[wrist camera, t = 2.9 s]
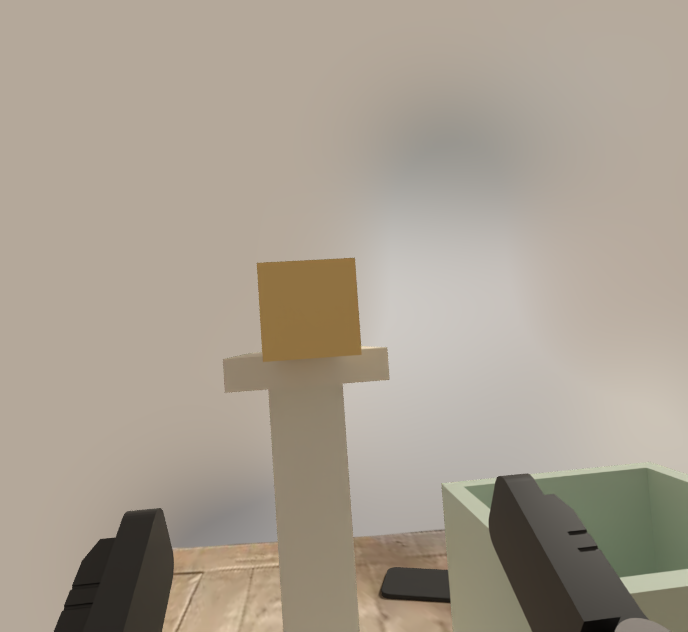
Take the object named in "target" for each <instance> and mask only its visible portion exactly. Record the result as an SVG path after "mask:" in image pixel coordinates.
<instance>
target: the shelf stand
mask: <svg viewBox="0 0 688 632" xmlns="http://www.w3.org/2000/svg"><path fill="white" fill-rule="evenodd" d="M361 352H362V355H352V356H338V357H325V358H311V359H297V360H284V361H270V362H263V355H262V352H256V353H249V354H244V355H240V356H235V357H231V358H227V359H223V368H224V385H225V393H228V392H240V391H252V390H253V391H254V390H266V389H268V391H269V407H270V422H271V439H272V455H273V472H274V486H275V504H276V520H277V536H278V553H279V569H280V585H281V602H282V618H283V632H360V630H359V615H358V601H357V586H356V572H355V557H354V543H353V529H352V515H351V500H350V485H349V473H348V472H349V471H348V456H347V444H346V443H347V442H346V428H345V413H344V398H343V384H342V383H355V382H367V381H380V380H389V367H388V352H387V347H366V346H361Z"/></svg>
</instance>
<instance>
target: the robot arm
mask: <svg viewBox="0 0 688 632" xmlns="http://www.w3.org/2000/svg"><path fill="white" fill-rule="evenodd" d="M489 533H490V538H491V541H492V544H493V547H494V549H495V551H496V553H497V555H498V558H499V560H500V562H501V564H502V566H503V569H504V571H505V573H506V575H507V577H508V580H509V582H510V584H511V586H512V588H513V591H514V593H515V595H516V597H517V599H518V602H519V604H520V606H521V608H522V610H523V613H524V615H525V617H526V619H527V621H528V624H529V626H530V628H531V630H532V632H671V631H670V630H668V629H667V628H665V627H664V626H662V625H660V624H658V623H656V622H653V621H650V620H649V619H648V618H647V617H646V616H645V614H644V613H643V612H642V610H641V609H640V607H639V606H638V604H637V603H636V602H635V600H634V599H633V597H632V596H631V594H630V593H629V591H628V590H627V588H626V587H625V585H624V584H623V582H622V581H621V579H620V578H619V576H618V575H617V573H616V572H615V570H614V569H613V568H612V566H611V565H610V563H609V562H608V560H607V559H606V557H605V556H604V554H603V553H602V551H601V550H599V549H598V545H597V544H596V542H595V541H594V539H593V538H592V536H591V535H590V534H589V533H587V529H586V528H585V526H584V525H583V523H582V522H581V520H580V519H579V517H578V516H577V514H576V513H575V511H574V510H573V509H572V508H571V507H569V506H568V505H567V504H566V503H565V502H563V501H562V500H561V499H560V498H559V497H557V496H556V495H555V494H547V495H544V494H543V492H542V491H541V489H540V488H539V486H538V484H537V483H536V481H535V480H534V478H533V477H532V476H531V475H530V474H518V475H508V476H499V477H497V479H496V481H495V486H494V492H493V497H492V503H491V509H490V514H489ZM173 569H174V558H173V550H172V546H171V543H170V538H169V534H168V530H167V525H166V522H165V517H164V513H163V510H162V509H161V508H157V509H147V510H137V511H128V512H126V513H125V514H124V516H123V518H122V521H121V524H120V527H119V530H118V532H117V536H116V538H107V539H100V540H99V541H98V543H97V544H96V545H95V546H94V547H93V548H92V550H91V551H90V552H89V553H88V554H87V556H86V557H85V558H84V559H83V560H82V562H81V565H80V568H79V570H78V572H77V575H76V577H75V580H74V582H73V585H72V590H70V592H69V595H68V597H67V600H66V602H65V605H64V611H62V612H61V615H60V617H59V620H58V622H57V625H56V628H55V630H54V632H162V628H163V623H164V618H165V614H166V609H167V604H168V599H169V594H170V589H171V585H172V579H173Z"/></svg>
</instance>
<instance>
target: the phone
mask: <svg viewBox="0 0 688 632" xmlns="http://www.w3.org/2000/svg"><path fill="white" fill-rule="evenodd" d="M381 591H382V596H383V597H385V598H390V599H406V600H422V601H439V602H451V600H450V587H449V574H448V570H437V569H419V568H401V567H394V568H390V569H389V570H388V571H387V574H386V577H385V580H384V583H383V586H382V589H381Z"/></svg>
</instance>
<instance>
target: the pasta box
mask: <svg viewBox="0 0 688 632" xmlns="http://www.w3.org/2000/svg"><path fill="white" fill-rule="evenodd" d="M257 274H258V290H259V305H260V321H261V322H260V323H261V339H262V355H263V362H270V361H284V360H297V359H311V358H325V357H338V356H352V355H362V352H361V339H360V324H359V311H358V296H357V282H356V268H355V258H344V259H324V260H305V261H286V262H266V263H257Z"/></svg>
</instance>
